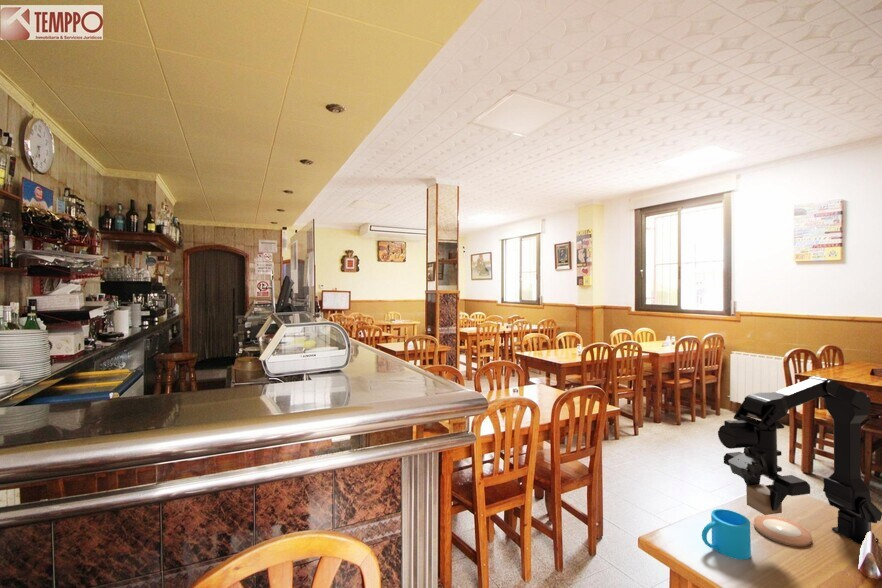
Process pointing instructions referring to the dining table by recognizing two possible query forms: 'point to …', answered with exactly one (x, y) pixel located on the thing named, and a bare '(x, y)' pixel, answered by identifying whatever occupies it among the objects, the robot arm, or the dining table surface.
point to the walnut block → (760, 499)
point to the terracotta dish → (782, 530)
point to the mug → (729, 534)
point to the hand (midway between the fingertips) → (763, 504)
